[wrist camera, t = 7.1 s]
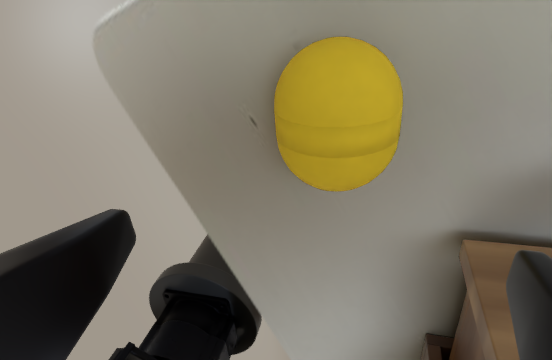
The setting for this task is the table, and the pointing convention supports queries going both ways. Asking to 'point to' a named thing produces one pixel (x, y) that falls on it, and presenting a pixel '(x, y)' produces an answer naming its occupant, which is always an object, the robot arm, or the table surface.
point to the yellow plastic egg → (338, 113)
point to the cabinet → (437, 347)
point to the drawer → (487, 302)
